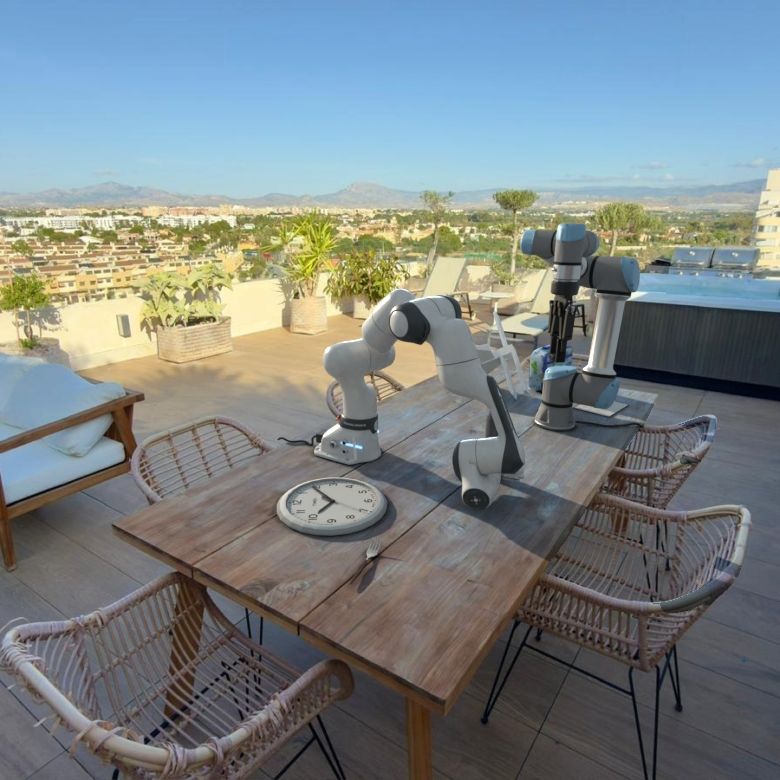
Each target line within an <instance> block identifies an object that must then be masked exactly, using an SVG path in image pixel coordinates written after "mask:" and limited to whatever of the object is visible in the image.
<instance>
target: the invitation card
mask: <svg viewBox="0 0 780 780" xmlns="http://www.w3.org/2000/svg"><path fill="white" fill-rule="evenodd" d="M628 406H629V404H627V403H623V402H618V401H614V402H613V404H612V405H611V406H610V407H609V408H608V409H600V408H594V407H591V406H586V405H581V404H577V405H575V406H574V407H573V409H575V410H581V411H584V412H587V413H593V414H596V415H600V416H604V417H608V418H609V417H611V416H613V415H614V414H616V413H617V412H619V411H621V410H623V409H624V408H626V407H628Z"/></svg>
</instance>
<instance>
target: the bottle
mask: <svg viewBox="0 0 780 780" xmlns="http://www.w3.org/2000/svg"><path fill="white" fill-rule="evenodd" d="M484 433H485V434H484V438H488V437H496V436H499V434H498V432H497V429H496V426H495V424H494V421H493V418H492V415H491V413H490V410H489V411H488V412H487V414H486V420H485V431H484Z"/></svg>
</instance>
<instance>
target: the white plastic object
mask: <svg viewBox="0 0 780 780" xmlns="http://www.w3.org/2000/svg"><path fill="white" fill-rule="evenodd" d="M492 315H493V319H494V321H495V324H496V325H495V326H496V328H497V332H498V335H499V338H500V342H501V345H502V347H500V348H498V349H496V350H495V349H493V348H492V347H491V346H490V344H489V343H488V342H487V343H483V344H479V345H476V349H477V354H478V359H479V363H480V365H481V367H482V369H483V370H484V372H485V373H486V374H487V375H489V374H490V373H492V372H494V371H495V370H496V369H497V368H499V367H500V366H502V370H503V373H504V376H505V380H506V383H507V386H508V390H509V393H510V394H511V395H512V397H513V398H514V399H515V400H517V392H516V391H517V390H516V388H515V385H514V381H513V378H512V375H511V371H510V369H509V365H508V361H510V360H513V363H514V366H515V369H516V372H517V376H518V380H519V382H520V385H521V389H522V391H523V393H524V395H525V396H526V397H528V396H531V395H530V390H529V386H528V384H527V381H526V378H525V375H524V371H523V369H522V368H523V367H522V366H521V362H520V359H519V355H518V352H517V349H516V347H515V346H514V345H513V343H511V344H508V341H507V337H506V334H505V331H504V328H503V325H502V321H501V318H500V315H499V314H498V312H497V311H496V310H495V311H492Z"/></svg>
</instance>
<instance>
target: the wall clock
mask: <svg viewBox="0 0 780 780" xmlns="http://www.w3.org/2000/svg"><path fill="white" fill-rule="evenodd" d="M387 509H388V500H387V498H386V496H385V494H384V493H383V492H382V491H381V490H380V489H379V488H377V487H376V486H374V485H372V484H371V483H369V482H365V481H362V480H359V479H355V478H349V477H338V476H337V477H335V476H333V477H332V476H331V477H322V478H317V479H312V480H307V481H305V482H302V483H299V484H297V485H295V486H293V487H292V488H290V489H288V490H287V491H286V492H285V493H284V494H283V495H281V496H280V498H279V499H278V502H277V503H276V515H277V517H278V518H279V520H280V521H281V522H282V523H283V524H285V525H286V526H287V527H288V528H290V529H293V530H295V531H297V532H299V533H303V534H308V535H312V536H327V537H328V536H329V537H331V536H332V537H333V536H342V535H350V534H352V533H356V532H361V531H363V530H366V529H368V528H369V527H372V526H373V525H375V524H376V523H378V522H379V521H380V520H381V519H382V518H383V517H384V516H385V514H386V512H387Z"/></svg>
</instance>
